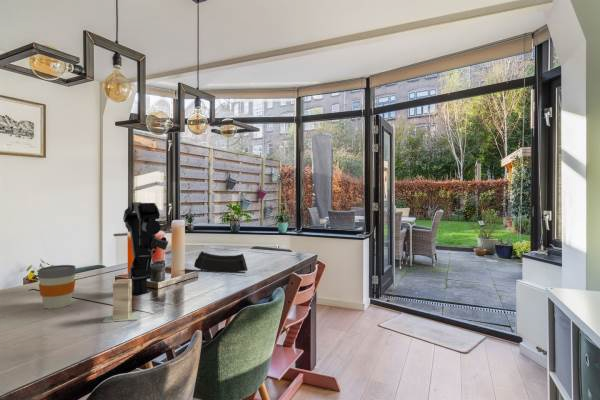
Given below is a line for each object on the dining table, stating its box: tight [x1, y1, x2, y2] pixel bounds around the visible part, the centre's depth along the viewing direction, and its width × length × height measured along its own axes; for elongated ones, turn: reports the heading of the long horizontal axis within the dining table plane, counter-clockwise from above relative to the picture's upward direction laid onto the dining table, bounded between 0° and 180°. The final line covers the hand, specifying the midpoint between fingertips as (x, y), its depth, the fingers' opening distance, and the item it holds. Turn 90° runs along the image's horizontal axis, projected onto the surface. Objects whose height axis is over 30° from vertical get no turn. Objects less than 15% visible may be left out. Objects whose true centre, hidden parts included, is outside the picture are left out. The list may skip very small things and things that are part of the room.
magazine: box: [193, 250, 248, 273], centre depth 203 cm, size 18×3×31 cm
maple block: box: [112, 278, 133, 320], centre depth 127 cm, size 5×5×13 cm
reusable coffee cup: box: [37, 264, 77, 309], centre depth 140 cm, size 13×13×15 cm
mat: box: [102, 311, 142, 323], centre depth 127 cm, size 8×11×1 cm
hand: (146, 269), depth 148 cm, fingers open, 9 cm apart
